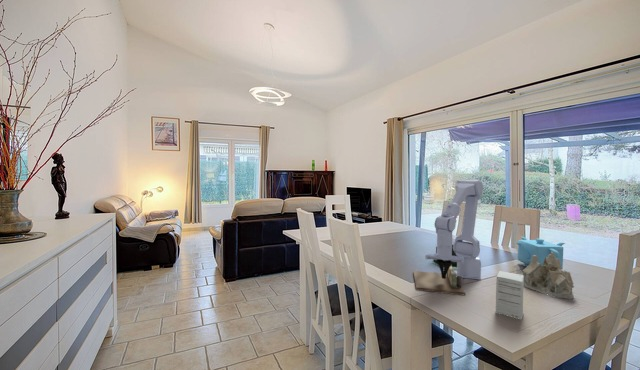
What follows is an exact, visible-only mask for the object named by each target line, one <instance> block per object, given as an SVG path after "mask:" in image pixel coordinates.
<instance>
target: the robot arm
mask: <svg viewBox="0 0 640 370" xmlns="http://www.w3.org/2000/svg"><path fill="white" fill-rule="evenodd" d="M483 191H484V185H483V181H482V180H480V179H458V180H457V181H456V182H455V194H454V195H453V198H452V201H451V202H449V203H447V204H446V206H445V208H444V210H443V211H442V213H441V215H440V216H439V215H438V216H437V217H436V218H435V221H434V224H433V225H434V228H435V233H436V247H437V254H436V253H425V256H424V257H425V258H424V259H425V260H432V261H433V260H437V263H438V264H437V266H438V265H439V266H438V267H439V271H440V273H441V276H442V278H443V279H446V274H447V271H448V269H449V268H450V266H451V261H453V262H457V269H456V270H454V273H455V275H456V277H457V276H462V279H470V280H471V279H473V280H482V278H481V276H482V275H481V274H482V262H481V259H480V257H479V255H480V252H481V248H480V244H481V243H480V240H478V239H477V238H476V237H475V236H474V234H475V226H476V219H477V211H478V203H479V200H481V199H482V198H483ZM464 201H465V205H464V212H463V220H462V228H461V234H460V235H458V236H456V237H455V239H454V242H453V232H454V231H455V229H456V226H457V225H456V224H457V218H458V216H459V215H460V213H461V205H462V204H463V203H464ZM452 245H453V250H454V252H455V253H456V255H457V256H452Z"/></svg>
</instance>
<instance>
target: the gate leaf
mask: <svg viewBox="0 0 640 370" xmlns="http://www.w3.org/2000/svg"><path fill="white" fill-rule="evenodd" d="M447 276H448V278H449V280H450V283H451V287H452V288H456V277H457V275H456V273H455V270H454V268H452V265H451V266H450V268H449V269H448V271H447Z"/></svg>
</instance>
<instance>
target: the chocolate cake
mask: <svg viewBox="0 0 640 370" xmlns="http://www.w3.org/2000/svg"><path fill="white" fill-rule="evenodd" d="M453 245H454V244H452V256H457V255H456V253H455V252H454V250H453ZM435 254H437V246H436V247H435ZM430 263H431V264H433V265H435V266H438V267H439V265H438V263H437V260H433V259H432V261H430ZM451 265H452V268H453V270H454V269H456V270H457V262H453V261H451Z"/></svg>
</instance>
